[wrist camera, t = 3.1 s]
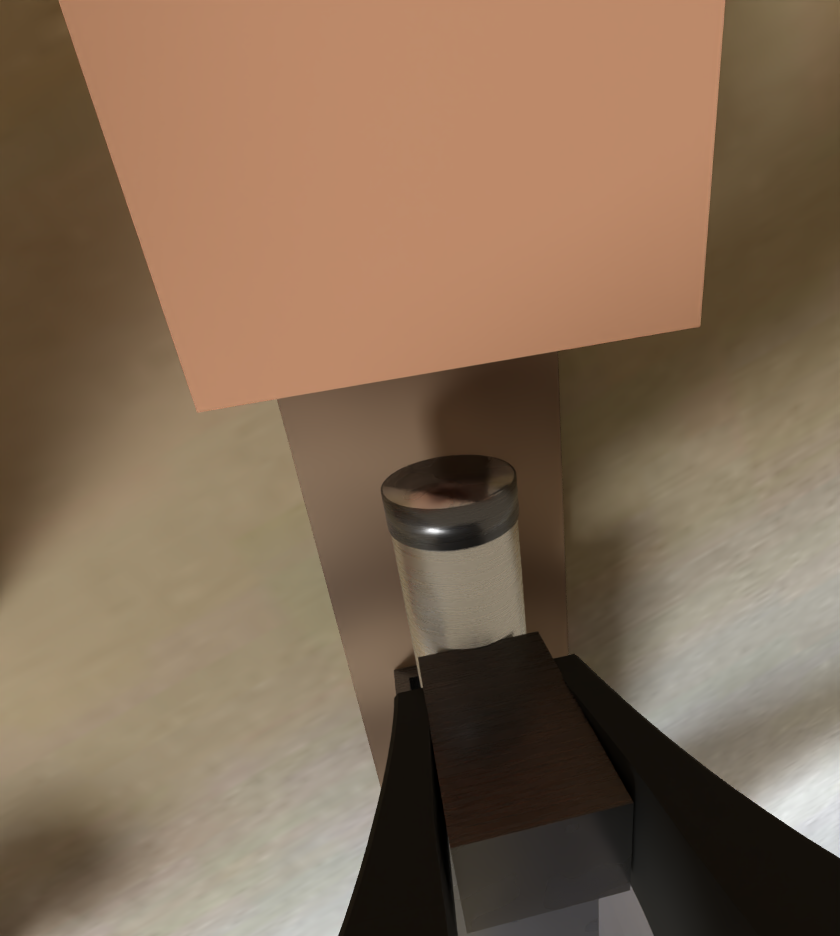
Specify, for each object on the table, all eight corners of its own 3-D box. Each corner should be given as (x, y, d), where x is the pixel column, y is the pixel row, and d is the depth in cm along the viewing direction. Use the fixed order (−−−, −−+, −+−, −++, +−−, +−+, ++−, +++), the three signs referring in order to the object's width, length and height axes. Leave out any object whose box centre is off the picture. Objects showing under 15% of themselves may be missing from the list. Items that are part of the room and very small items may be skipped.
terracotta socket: (556, 320, 12) (700, 326, 7) (268, 367, 12) (197, 412, 6) (549, 101, 10) (732, -101, 5) (209, 145, 10) (46, -35, 5)
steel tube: (527, 813, 18) (626, 1110, 11) (449, 832, 18) (503, 1147, 11) (493, 446, 12) (652, 607, 6) (377, 468, 12) (401, 662, 5)
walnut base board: (564, 792, 21) (574, 815, 20) (398, 833, 20) (400, 858, 19) (533, 118, 11) (549, 101, 10) (222, 159, 11) (209, 145, 10)
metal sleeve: (541, 816, 20) (599, 975, 15) (431, 843, 19) (455, 1015, 14) (528, 640, 16) (597, 776, 11) (393, 670, 16) (408, 823, 11)
